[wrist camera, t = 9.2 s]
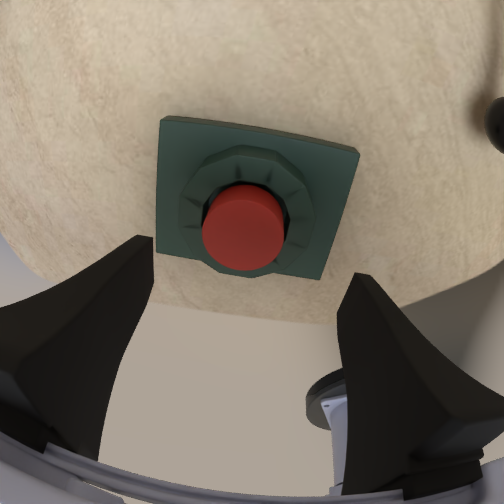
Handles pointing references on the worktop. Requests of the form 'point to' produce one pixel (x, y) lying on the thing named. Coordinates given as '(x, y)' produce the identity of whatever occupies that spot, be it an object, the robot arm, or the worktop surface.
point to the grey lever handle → (495, 123)
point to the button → (244, 228)
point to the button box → (256, 174)
